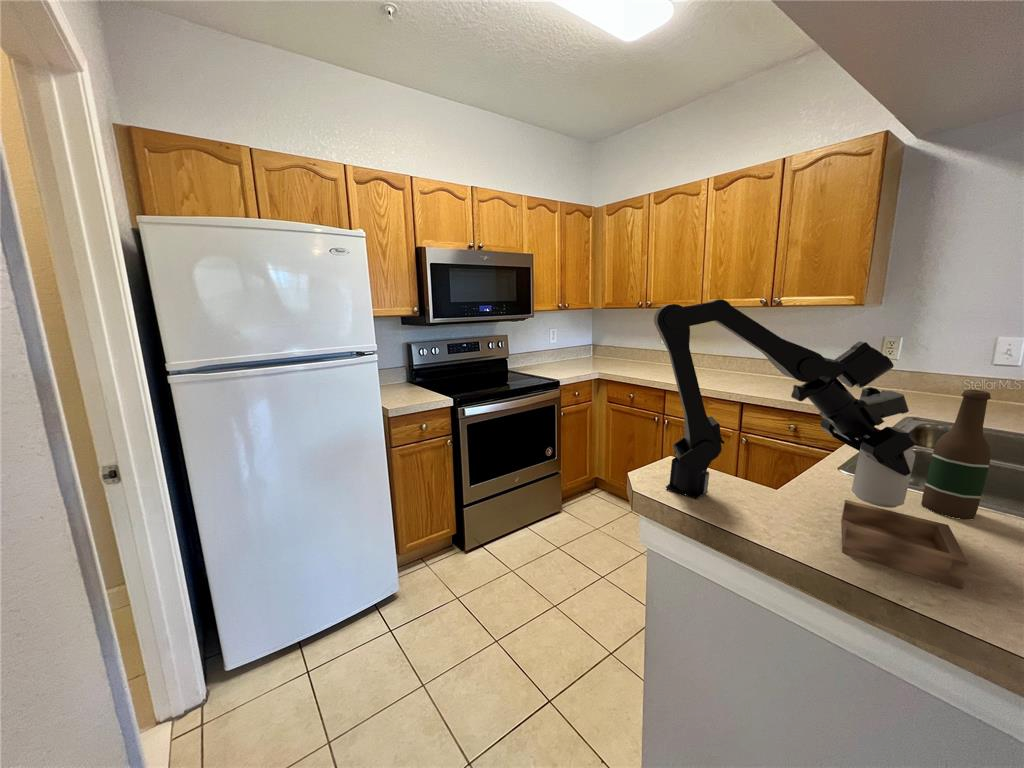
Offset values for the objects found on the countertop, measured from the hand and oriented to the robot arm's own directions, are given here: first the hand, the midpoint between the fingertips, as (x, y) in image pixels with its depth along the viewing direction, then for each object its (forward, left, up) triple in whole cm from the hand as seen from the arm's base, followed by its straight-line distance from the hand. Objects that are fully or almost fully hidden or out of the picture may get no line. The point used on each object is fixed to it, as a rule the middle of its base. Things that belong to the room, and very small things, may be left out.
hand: (892, 466), depth 74 cm
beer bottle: (+9, +11, -10) cm, 17 cm away
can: (-1, -1, -7) cm, 7 cm away
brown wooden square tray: (+1, -15, -10) cm, 18 cm away
